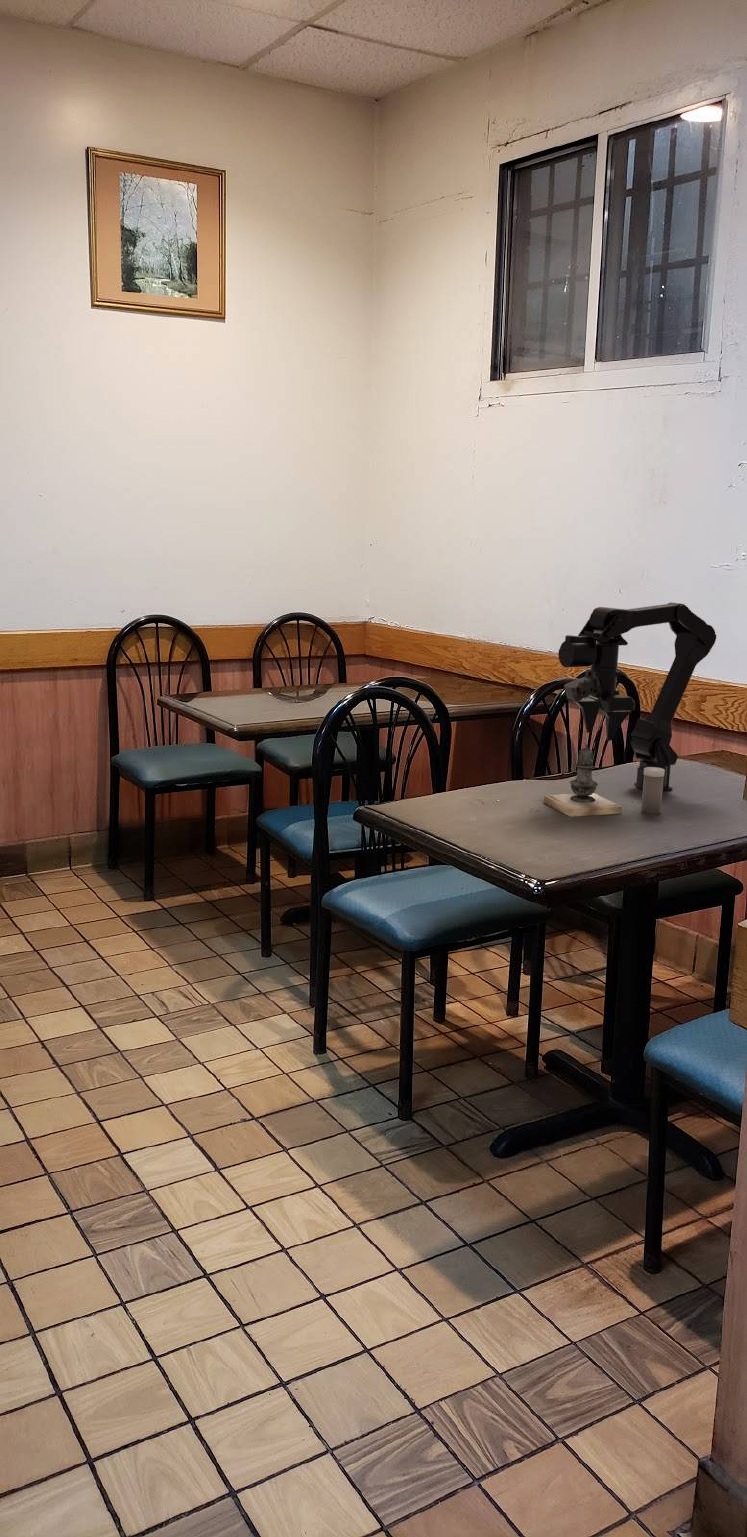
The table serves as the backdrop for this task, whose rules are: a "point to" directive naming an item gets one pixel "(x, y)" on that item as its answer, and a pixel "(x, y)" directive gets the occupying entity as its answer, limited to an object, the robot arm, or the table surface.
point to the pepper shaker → (652, 790)
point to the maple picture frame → (582, 805)
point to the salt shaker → (584, 778)
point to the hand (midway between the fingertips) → (599, 736)
